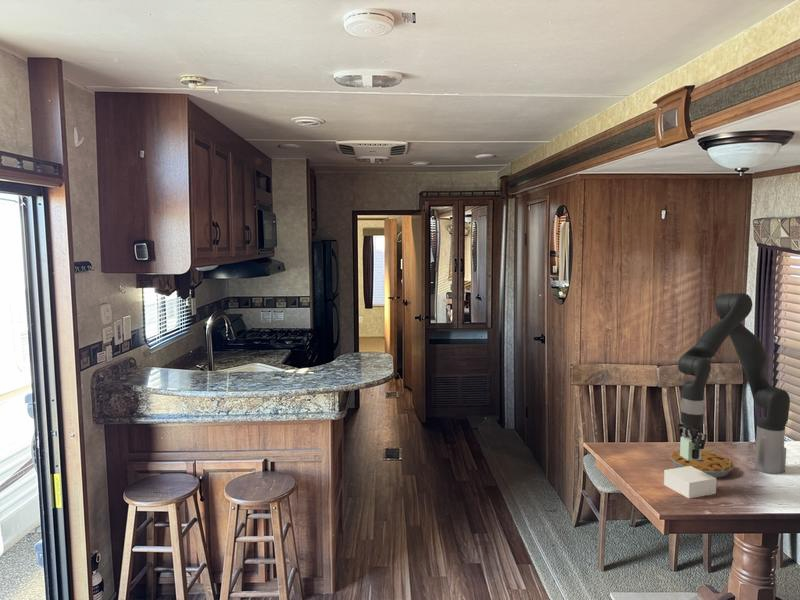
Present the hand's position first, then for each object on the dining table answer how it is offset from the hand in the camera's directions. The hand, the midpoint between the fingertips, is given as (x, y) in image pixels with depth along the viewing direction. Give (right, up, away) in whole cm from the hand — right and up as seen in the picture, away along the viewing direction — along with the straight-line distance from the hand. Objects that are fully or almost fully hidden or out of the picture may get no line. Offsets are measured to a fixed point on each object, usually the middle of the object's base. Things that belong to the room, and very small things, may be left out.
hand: (690, 455), depth 206 cm
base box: (0, -13, +1) cm, 13 cm away
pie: (+14, -11, +20) cm, 27 cm away
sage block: (0, -1, 0) cm, 1 cm away
